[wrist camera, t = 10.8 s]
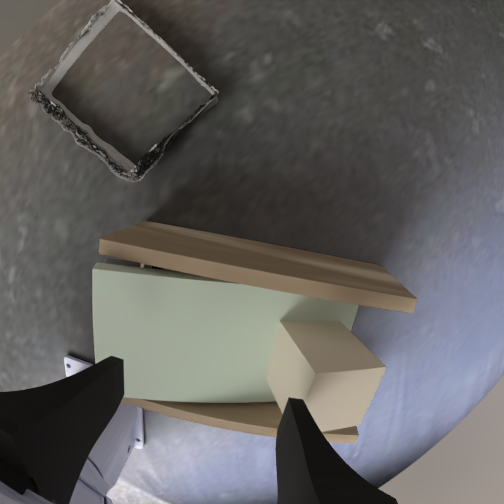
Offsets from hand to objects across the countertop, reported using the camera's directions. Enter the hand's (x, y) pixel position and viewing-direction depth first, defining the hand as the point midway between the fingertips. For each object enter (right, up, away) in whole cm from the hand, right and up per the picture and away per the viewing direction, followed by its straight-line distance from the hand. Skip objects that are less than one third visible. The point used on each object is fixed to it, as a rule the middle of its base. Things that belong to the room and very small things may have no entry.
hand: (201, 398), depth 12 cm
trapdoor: (0, +2, +8) cm, 8 cm away
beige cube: (+5, 0, +6) cm, 8 cm away
